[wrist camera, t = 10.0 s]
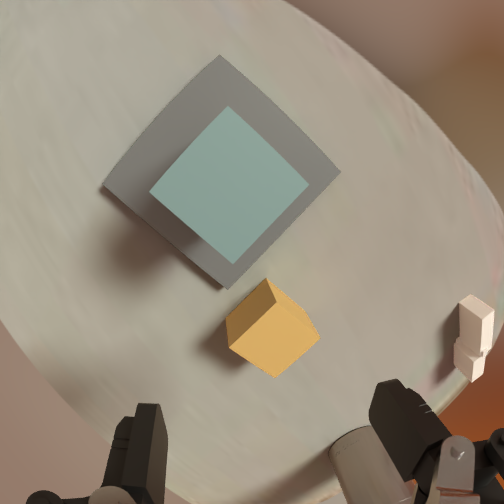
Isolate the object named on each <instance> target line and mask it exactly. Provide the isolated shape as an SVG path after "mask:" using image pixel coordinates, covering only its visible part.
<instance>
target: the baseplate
mask: <svg viewBox="0 0 504 504" xmlns="http://www.w3.org/2000/svg"><path fill="white" fill-rule="evenodd" d="M227 106H229V107H230V108H231V109H232V110H233V111H234V112H235V113H236V114H237V115H239V116H240V117H241V118H242V119H243V120H244V121H245V122H246V123H247V124H248V125H249V126H250V127H252V128H253V129H254V130H255V131H256V132H257V133H258V134H259V135H260V136H261V137H262V138H263V139H264V140H265V141H266V142H267V143H268V144H269V145H270V146H271V147H273V148H274V149H275V150H276V151H277V152H278V153H279V154H280V155H281V156H282V157H283V158H284V159H285V160H286V161H287V162H288V163H289V164H290V165H291V166H292V167H293V168H294V169H295V170H296V171H297V172H298V173H299V174H300V175H301V176H302V178H303V179H304V180H305V181H306V182H307V183H308V184H309V186H308V187H307V188H306V189H305V190H304V191H303V192H302V193H301V194H300V195H299V196H298V197H297V198H296V199H295V200H294V201H293V202H292V203H291V204H290V205H289V206H288V207H287V208H286V209H285V210H284V212H283V213H282V214H281V215H280V216H279V217H278V218H277V219H276V220H275V221H274V222H273V223H272V224H271V225H270V226H269V227H268V228H267V229H266V230H265V231H264V232H263V233H262V234H261V235H260V237H259V238H258V239H257V240H256V241H255V242H254V243H253V244H252V245H251V246H250V247H249V248H248V249H247V250H246V251H245V252H244V253H243V254H242V255H241V256H240V257H239V258H238V260H237V261H236V262H235V263H234V264H232V263H231V262H230V261H229V260H227V259H226V258H225V257H224V256H223V255H221V254H220V253H219V252H218V251H217V250H216V249H214V248H213V247H212V246H211V245H210V244H209V243H207V242H206V241H205V240H204V239H203V238H202V237H200V236H199V235H198V234H197V233H196V232H195V231H193V230H192V229H191V228H190V227H189V226H188V225H186V224H185V223H184V222H183V221H182V220H181V219H179V218H178V217H177V216H176V215H175V214H174V213H173V212H171V211H170V210H169V209H168V208H167V207H166V206H164V205H163V204H162V203H161V202H160V201H159V200H158V199H156V198H155V197H154V196H153V195H152V194H151V193H150V192H149V191H150V190H151V189H152V188H153V186H154V185H155V184H156V183H157V182H158V180H159V179H160V178H161V177H162V176H163V175H164V173H165V172H166V171H167V170H168V169H169V168H170V167H171V165H172V164H173V163H174V162H175V161H176V160H177V159H178V158H179V156H180V155H181V154H182V153H183V152H184V151H185V150H186V149H187V148H188V147H189V145H190V144H191V143H192V142H193V141H194V140H195V139H196V138H197V137H198V136H199V135H200V134H201V133H202V132H203V131H204V130H205V129H206V127H207V126H208V125H209V124H210V123H211V122H212V121H213V120H214V119H215V118H216V117H217V116H218V115H219V114H220V113H221V112H222V111H223V110H224V109H225V108H226V107H227ZM340 173H341V171H340V170H339V169H338V168H337V167H336V166H335V165H334V164H333V163H332V161H331V160H330V159H329V158H328V157H327V156H326V155H325V154H324V153H323V152H322V151H321V150H320V148H319V147H318V146H317V145H316V144H315V143H314V142H313V141H312V140H311V139H310V138H309V137H308V136H307V135H306V134H305V133H304V132H303V131H302V130H301V129H300V128H299V127H298V126H297V125H296V124H295V123H294V122H293V121H292V120H291V119H290V118H289V117H288V116H287V115H286V114H285V113H284V112H283V111H282V110H281V109H280V108H279V107H278V106H277V105H276V104H275V103H274V102H273V101H272V100H271V99H269V98H268V97H267V96H266V95H265V94H264V93H263V92H262V91H261V90H260V89H259V88H258V87H256V86H255V85H254V84H253V83H252V82H251V81H250V80H249V79H248V78H246V77H245V76H244V75H243V74H242V73H241V72H240V71H238V70H237V69H236V68H235V67H234V66H233V65H231V64H230V63H229V62H228V61H227V60H225V59H224V58H223V57H222V56H221V55H219V56H217V57H216V58H215V59H214V60H213V61H212V62H211V63H210V64H209V65H208V66H207V67H206V68H204V69H203V70H202V71H201V72H200V73H199V74H198V75H197V76H196V77H195V78H194V79H193V80H192V81H191V82H190V83H189V84H188V85H187V86H186V87H185V88H184V89H183V90H182V91H181V92H180V93H179V94H178V95H177V96H176V97H175V98H174V99H173V100H172V101H171V102H170V103H169V104H168V105H167V107H166V108H165V109H164V110H163V111H162V112H161V113H160V114H159V115H158V116H157V117H156V119H155V120H154V121H153V122H152V123H151V124H150V125H149V126H148V128H147V129H146V130H145V131H144V132H143V133H142V134H141V136H140V137H139V138H138V139H137V140H136V142H135V143H134V144H133V145H132V146H131V148H130V149H129V150H128V151H127V152H126V154H125V155H124V156H123V157H122V159H121V160H120V161H119V162H118V164H117V165H116V166H115V168H114V169H113V170H112V171H111V173H110V174H109V175H108V177H107V178H106V179H105V181H104V182H103V183H102V184H103V185H104V186H105V187H106V188H107V189H109V190H110V191H111V192H112V193H113V194H114V195H115V196H116V197H118V198H119V199H120V200H121V201H122V202H123V203H124V204H126V205H127V206H128V207H129V208H130V209H131V210H132V211H134V212H135V213H136V214H137V215H138V216H139V217H140V218H142V219H143V220H144V221H145V222H146V223H147V224H149V225H150V226H151V227H152V228H153V229H154V230H156V231H157V232H158V233H159V234H160V235H162V236H163V237H164V238H165V239H166V240H167V241H169V242H170V243H171V244H172V245H173V246H175V247H176V248H177V249H178V250H179V251H181V252H182V253H183V254H184V255H185V256H187V257H188V258H189V259H190V260H192V261H193V262H194V263H195V264H196V265H198V266H199V267H200V268H201V269H203V270H204V271H205V272H206V273H207V274H209V275H210V276H211V277H212V278H214V279H215V280H216V281H217V282H219V283H220V284H221V285H222V286H224V287H225V288H226V289H227V290H228V289H229V288H230V287H231V286H232V285H233V284H234V283H235V282H236V281H237V280H238V279H239V278H240V277H241V276H242V275H243V274H244V273H245V272H246V271H247V270H248V269H249V268H250V267H251V266H252V264H253V263H254V262H255V261H256V260H257V259H258V258H259V257H260V256H261V255H262V254H263V253H264V252H265V251H266V250H267V249H268V248H269V247H270V246H271V245H272V244H273V243H274V242H275V241H276V240H277V239H278V237H279V236H280V235H281V234H282V233H283V232H284V231H285V230H286V229H287V228H288V227H289V226H290V225H291V224H292V223H293V222H294V221H295V220H296V219H297V218H298V217H299V216H300V215H301V213H302V212H303V211H304V210H305V209H306V208H307V207H308V206H309V205H310V204H311V203H312V202H313V201H314V200H315V199H316V198H317V197H318V196H319V195H320V194H321V193H322V191H323V190H324V189H325V188H326V187H327V186H328V185H329V184H330V183H331V182H332V181H333V180H334V179H335V178H336V177H337V176H338V175H339V174H340Z"/></svg>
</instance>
